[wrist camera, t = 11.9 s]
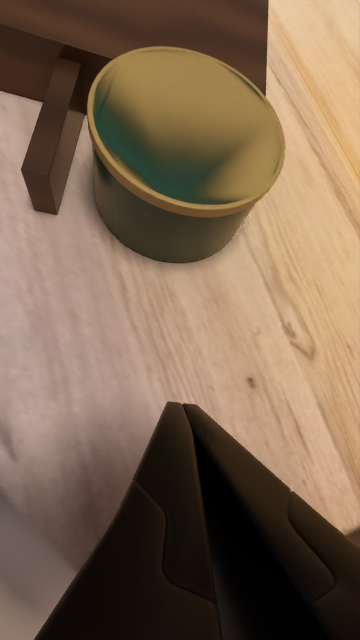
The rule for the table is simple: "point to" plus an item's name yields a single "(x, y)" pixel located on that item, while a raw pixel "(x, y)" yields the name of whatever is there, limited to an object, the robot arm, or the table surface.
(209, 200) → the tin
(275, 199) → the table surface
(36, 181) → the dark brown wooden block
